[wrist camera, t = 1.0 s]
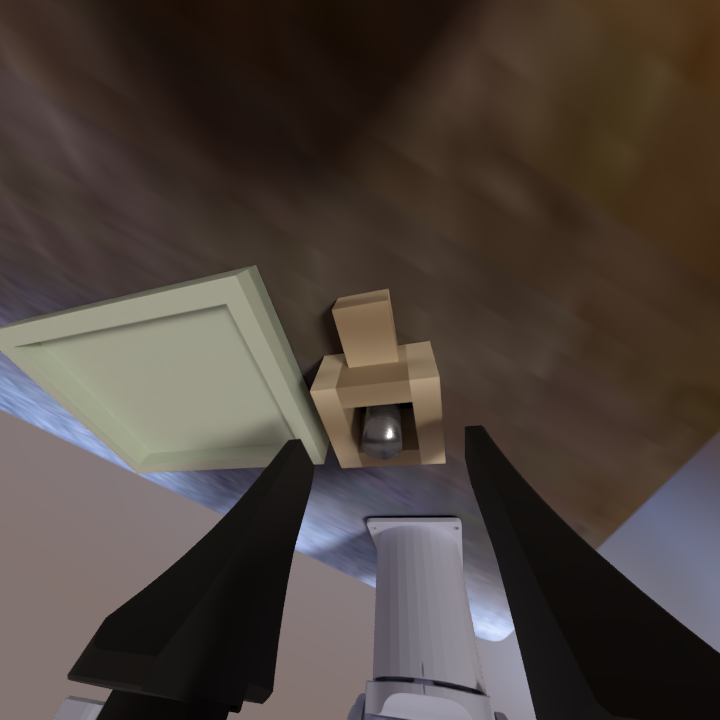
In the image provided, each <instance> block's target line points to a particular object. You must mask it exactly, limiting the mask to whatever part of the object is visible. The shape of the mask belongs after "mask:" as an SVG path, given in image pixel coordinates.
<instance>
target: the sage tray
mask: <svg viewBox="0 0 720 720" xmlns="http://www.w3.org/2000/svg"><path fill="white" fill-rule="evenodd" d="M0 351H2V352H3V353H4V354H5V355H6V356H7V357H8V358H9V359H10V360H12V361H13V362H14V363H15V364H16V365H17V366H18V367H19V368H20V369H22V370H23V371H24V372H25V373H26V374H27V375H28V376H29V377H30V378H32V379H33V380H34V381H35V382H36V383H37V384H38V385H39V386H40V387H42V388H43V389H44V390H45V391H46V392H47V393H48V394H49V395H50V396H52V397H53V398H54V399H55V400H56V401H57V402H58V403H59V404H60V405H62V406H63V407H64V408H65V409H66V410H67V411H68V412H69V413H70V414H72V415H73V416H74V417H75V418H76V419H77V420H78V421H79V422H80V423H82V424H83V425H84V426H85V427H86V428H87V429H88V430H89V431H90V432H92V433H93V434H94V435H95V436H96V437H97V438H98V439H99V440H101V441H102V442H103V443H104V444H105V445H106V446H107V447H108V448H109V449H111V450H112V451H113V452H114V453H115V454H116V455H117V456H118V457H119V458H121V459H122V460H123V461H124V462H125V463H126V464H127V465H128V466H129V467H131V468H132V469H133V470H134V471H135V472H136V473H137V474H139V473H159V472H179V471H198V470H218V469H237V468H257V467H267V466H268V465H269V464H270V463H271V461H272V460H273V459H274V457H275V456H276V455H277V454H278V452H279V451H280V450H281V449H282V447H283V446H284V445H285V444H286V442H287V441H288V440H291V439H301V441H302V443H303V444H304V446H305V448H306V450H307V452H308V454H309V456H310V458H311V460H312V462H313V464H314V465H315V464H324V462H325V458H326V454H327V450H328V446H329V442H330V441H329V438H328V436H327V434H326V431H325V429H324V426H323V424H322V422H321V419H320V417H319V415H318V412H317V410H316V407H315V405H314V403H313V400H312V398H311V395H310V393H309V391H308V388H307V386H306V383H305V381H304V379H303V376H302V374H301V372H300V369H299V367H298V364H297V362H296V360H295V357H294V355H293V352H292V350H291V348H290V345H289V343H288V340H287V338H286V336H285V333H284V331H283V329H282V326H281V324H280V321H279V319H278V317H277V314H276V312H275V309H274V307H273V305H272V302H271V300H270V297H269V295H268V293H267V290H266V288H265V286H264V283H263V281H262V278H261V276H260V274H259V271H258V269H257V266H256V265H254V266H250V267H245V268H241V269H237V270H232V271H228V272H224V273H220V274H215V275H211V276H207V277H202V278H198V279H194V280H189V281H185V282H181V283H177V284H172V285H168V286H164V287H159V288H155V289H151V290H146V291H142V292H138V293H134V294H129V295H125V296H121V297H116V298H112V299H108V300H103V301H99V302H95V303H90V304H86V305H82V306H78V307H73V308H69V309H65V310H60V311H56V312H52V313H47V314H43V315H39V316H35V317H30V318H26V319H22V320H19V321H16V322H13V323H10V324H7V325H4V326H1V327H0Z"/></svg>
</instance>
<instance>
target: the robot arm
mask: <svg viewBox="0 0 720 720" xmlns="http://www.w3.org/2000/svg"><path fill="white" fill-rule="evenodd" d="M465 460H466V464H467V469H468V473H469V477H470V481H471V485H472V488H473V491H474V494H475V496H476V499H477V502H478V505H479V508H480V511H481V514H482V517H483V519H484V522H485V525H486V528H487V531H488V534H489V537H490V539H491V542H492V545H493V548H494V552H495V555H496V558H497V561H498V565H499V569H500V573H501V577H502V581H503V584H504V588H505V592H506V596H507V600H508V604H509V608H510V612H511V615H512V619H513V623H514V627H515V631H516V635H517V639H518V644H519V648H520V651H521V655H522V660H523V664H524V668H525V672H526V676H527V681H528V685H529V689H530V694H531V698H532V702H533V706H534V711H535V715H536V719H537V720H720V653H719V652H717V651H716V650H715V649H713V648H712V647H711V646H710V645H708V644H707V643H706V642H704V641H703V640H702V639H700V638H699V637H698V636H697V635H696V634H694V633H693V632H692V631H691V630H689V629H688V628H687V627H686V626H684V625H683V624H682V623H680V622H679V621H678V620H677V619H675V618H674V617H673V616H672V615H670V614H669V613H668V612H667V611H666V610H665V609H663V608H662V607H661V606H660V605H658V604H657V603H656V602H655V601H654V600H652V599H651V598H650V597H649V596H647V595H646V594H645V593H643V592H642V591H641V590H640V589H639V588H638V587H637V586H636V585H634V584H633V583H632V582H631V581H630V580H628V579H627V578H626V577H625V576H624V575H623V574H622V573H620V572H619V571H618V570H617V569H616V568H615V567H614V566H613V565H611V564H610V563H609V562H608V561H607V560H605V559H604V558H603V557H602V556H601V555H600V554H599V553H598V552H596V551H595V550H594V549H593V548H592V547H591V546H590V545H589V544H588V543H587V542H586V541H585V540H583V539H582V538H581V537H580V536H579V535H578V534H577V533H576V532H575V531H574V530H573V529H572V528H571V527H570V526H569V525H568V524H567V523H566V522H565V521H564V520H563V519H562V518H560V517H559V516H558V515H557V513H556V512H555V511H554V510H553V509H552V508H551V507H550V506H549V505H548V504H547V503H546V502H545V501H544V500H543V499H542V498H541V497H540V496H539V495H538V494H537V493H536V492H535V490H534V489H533V488H532V487H531V486H530V485H529V484H528V483H527V482H526V480H525V479H524V478H523V477H522V476H521V475H520V474H519V472H518V471H517V470H516V469H515V468H514V466H513V465H512V464H511V463H510V462H509V460H508V459H507V458H506V457H505V456H504V454H503V453H502V452H501V450H500V449H499V448H498V447H497V445H496V444H495V443H494V441H493V440H492V438H491V437H490V436H489V434H488V433H487V431H486V430H485V428H484V427H483V426H481V425H480V426H467V427H465ZM313 473H314V464H313V462H312V460H311V458H310V456H309V454H308V452H307V450H306V448H305V446H304V444H303V443H302V441H301V439H291V440H288V441H287V442H286V444H285V445H284V446H283V447H282V449H281V450H280V451H279V452H278V454H277V455H276V456H275V457H274V459H273V460H272V461H271V463H270V464H269V465H268V466H267V468H266V469H265V470H264V471H263V473H262V474H261V475H260V476H259V478H258V479H257V480H256V481H255V483H254V484H253V485H252V486H251V487H250V488H249V490H248V491H247V492H246V493H245V494H244V495H243V496H242V498H241V499H240V500H239V501H238V502H237V503H236V505H235V506H234V507H233V508H232V509H231V510H230V511H229V512H228V513H227V514H226V515H225V516H224V517H223V519H221V520H220V521H219V523H218V524H217V525H216V526H215V527H214V528H213V529H212V530H211V531H210V532H209V533H208V534H207V535H205V536H204V537H203V538H202V539H201V540H200V541H199V542H198V543H197V544H196V545H195V546H193V547H192V548H191V549H190V550H189V551H188V552H187V553H186V554H185V555H184V556H183V557H181V558H180V559H179V560H178V561H177V562H176V563H175V564H174V565H172V566H171V567H170V568H169V569H168V570H166V571H165V572H164V573H163V574H162V575H160V576H159V577H158V578H157V579H156V580H154V581H153V582H152V583H151V584H149V585H148V586H147V587H146V588H144V589H143V590H142V591H141V592H139V593H138V594H137V595H135V596H134V597H133V598H131V599H130V600H129V601H127V602H126V603H125V604H123V605H122V606H121V607H120V608H118V609H117V610H116V611H114V612H113V613H112V614H110V615H109V616H108V617H106V618H105V620H104V621H103V623H102V625H101V626H100V627H99V629H98V630H97V632H96V633H95V635H94V636H93V638H92V639H91V641H90V642H89V644H88V645H87V647H86V648H85V650H84V651H83V653H82V654H81V656H80V658H79V659H78V660H77V662H76V663H75V665H74V666H73V668H72V669H71V671H70V672H69V674H68V679H69V680H72V681H76V682H80V683H85V684H90V685H94V686H99V687H104V688H109V689H113V690H112V692H111V694H110V696H109V697H108V699H107V701H106V702H103V701H98V700H92V699H87V698H81V697H75V696H69V697H67V698H66V699H65V700H64V702H63V704H62V705H61V707H60V708H59V710H58V711H57V713H56V714H55V716H54V717H53V719H52V720H226V719H227V716H228V713H229V712H235V713H239V712H240V710H241V707H242V704H243V701H247V702H254V703H260V704H263V703H264V702H265V701H266V700H267V699H268V698H269V697H270V695H271V694H272V692H273V686H274V676H275V668H276V658H277V651H278V642H279V635H280V628H281V621H282V615H283V607H284V602H285V596H286V590H287V583H288V579H289V573H290V568H291V563H292V558H293V553H294V549H295V545H296V541H297V537H298V534H299V530H300V527H301V523H302V520H303V516H304V513H305V509H306V505H307V502H308V498H309V494H310V491H311V486H312V480H313ZM367 526H368V529H369V531H370V534H371V536H372V539H373V541H374V544H375V546H376V548H377V574H376V602H375V604H376V605H375V629H374V630H375V631H374V658H373V681H366V693H365V694H364V693H362V694H360V695H359V696H358V698H357V699H356V702H355V704H354V705H353V707H352V708H351V710H350V712H349V714H348V717H347V720H508V719H507V717H506V716H505V714H503V713H501V712H494V711H493V706H492V701H491V697H490V696H487V694H486V689H485V684H484V679H483V674H482V669H481V664H480V658H479V653H478V648H477V643H476V637H475V632H474V627H473V622H472V617H471V612H470V606H469V601H468V596H467V591H466V586H465V581H464V575H463V570H462V568H463V561H462V524H461V520H460V519H459V518H369V519H368V520H367Z"/></svg>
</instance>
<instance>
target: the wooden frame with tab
mask: <svg viewBox="0 0 720 720" xmlns="http://www.w3.org/2000/svg"><path fill="white" fill-rule="evenodd" d="M332 313H333V316H334V319H335V323H336V326H337V330H338V333H339V336H340V340H341V343H342V347H343V350H344V353H342V354H335V355H328V356H324V358H323V361H322V363H321V365H320V368H319V370H318V373H317V375H316V378H315V380H314V382H313V385H312V387H311V390H310V393H311V396H312V398H313V400H314V403H315V405H316V408H317V410H318V412H319V415H320V417H321V420H322V422H323V424H324V427H325V429H326V432H327V434H328V436H329V439H330V441H331V444H332V446H333V448H334V451H335V453H336V456H337V458H338V460H339V463H340V465H341V468H356V467H377V466H398V465H420V464H441V463H445V449H444V435H443V421H442V407H441V393H440V379H439V374H438V370H437V366H436V363H435V359H434V355H433V352H432V348H431V344H430V341H427V342H420V343H413V344H406V345H398V344H397V338H396V332H395V326H394V320H393V314H392V308H391V302H390V296H389V290H388V289H384V290H379V291H374V292H368V293H363V294H358V295H352V296H347V297H342V298H338V299H337V301H336V303H335V305H334V307H333V309H332ZM406 402H413V408H407V409H400V410H401V431H402V451H401V453H400V454H399V455H398V456H397V457H395V458H393V459H388V460H379V459H375V458H372V457H370V456H368V455H367V454H366V453H365V452H364V451H363V449H362V440H363V432H364V423H365V414H366V412H363V411H362V408H361V407H364V406H374V405H385V404H395V403H406Z"/></svg>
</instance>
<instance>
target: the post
mask: <svg viewBox="0 0 720 720" xmlns="http://www.w3.org/2000/svg"><path fill="white" fill-rule="evenodd" d="M362 449H363V451H364V452H365V453H366V454H367V455H368V456H370V457H372V458H375V459H379V460H388V459H393V458H395V457H397V456H398V455H399V454H400V453H401V451H402V431H401V410H400V403H395V404H385V405H374V406H366V414H365V423H364V432H363V440H362Z"/></svg>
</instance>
